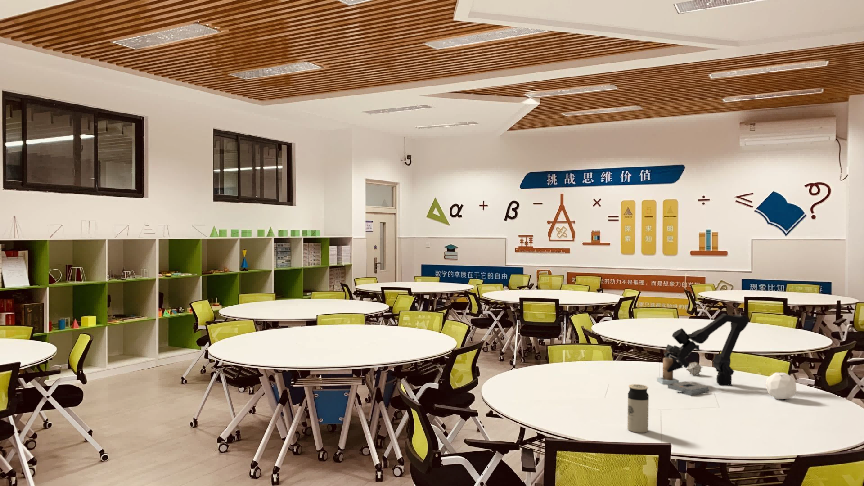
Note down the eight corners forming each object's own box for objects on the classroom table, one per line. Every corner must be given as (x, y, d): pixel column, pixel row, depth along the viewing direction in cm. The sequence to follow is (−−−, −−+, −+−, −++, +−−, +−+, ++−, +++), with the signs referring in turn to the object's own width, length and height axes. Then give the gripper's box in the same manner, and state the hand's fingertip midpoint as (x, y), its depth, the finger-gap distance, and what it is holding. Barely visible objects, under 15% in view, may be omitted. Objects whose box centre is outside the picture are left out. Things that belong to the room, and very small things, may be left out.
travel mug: (643, 427, 260) (644, 384, 260) (651, 433, 252) (651, 388, 252) (624, 427, 259) (625, 383, 259) (631, 433, 251) (632, 388, 251)
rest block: (672, 383, 342) (673, 377, 342) (678, 386, 335) (678, 380, 335) (656, 383, 342) (656, 377, 342) (662, 386, 335) (662, 380, 335)
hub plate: (684, 386, 333) (684, 381, 333) (708, 392, 321) (708, 386, 321) (667, 390, 326) (667, 384, 326) (691, 395, 314) (691, 389, 314)
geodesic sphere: (804, 393, 299) (798, 367, 307) (772, 391, 301) (767, 365, 309) (795, 405, 310) (789, 379, 318) (765, 403, 313) (760, 378, 321)
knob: (670, 381, 341) (670, 357, 341) (674, 383, 336) (674, 359, 336) (660, 381, 341) (661, 357, 341) (665, 383, 336) (665, 359, 336)
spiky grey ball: (697, 381, 363) (706, 370, 357) (684, 376, 363) (693, 364, 357) (695, 371, 370) (704, 360, 365) (682, 366, 370) (690, 354, 365)
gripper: (667, 336, 348) (648, 356, 347) (683, 342, 329) (662, 363, 329) (681, 351, 349) (661, 370, 348) (697, 357, 330) (677, 378, 329)
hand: (665, 370), depth 338 cm, fingers closed on knob, 5 cm apart
